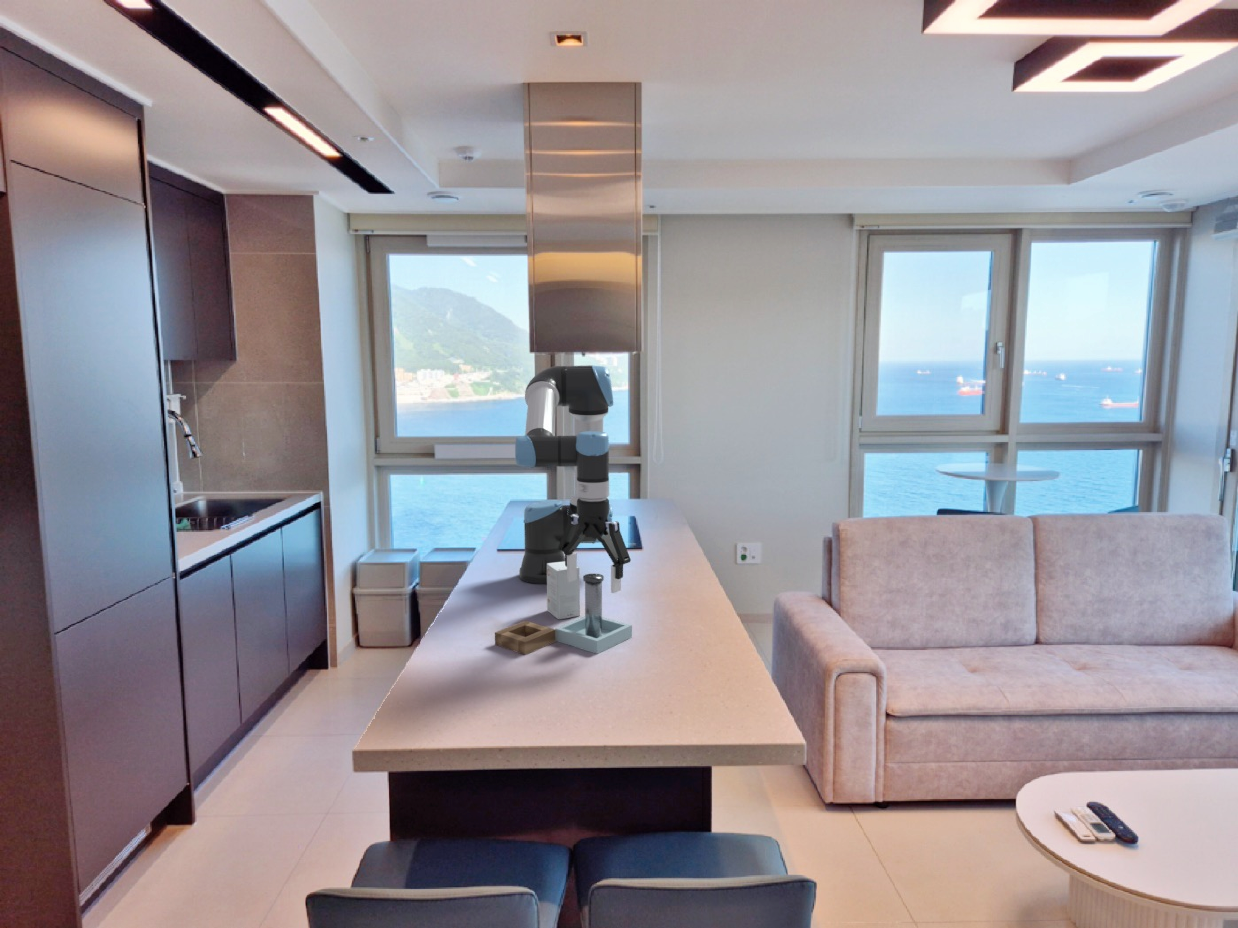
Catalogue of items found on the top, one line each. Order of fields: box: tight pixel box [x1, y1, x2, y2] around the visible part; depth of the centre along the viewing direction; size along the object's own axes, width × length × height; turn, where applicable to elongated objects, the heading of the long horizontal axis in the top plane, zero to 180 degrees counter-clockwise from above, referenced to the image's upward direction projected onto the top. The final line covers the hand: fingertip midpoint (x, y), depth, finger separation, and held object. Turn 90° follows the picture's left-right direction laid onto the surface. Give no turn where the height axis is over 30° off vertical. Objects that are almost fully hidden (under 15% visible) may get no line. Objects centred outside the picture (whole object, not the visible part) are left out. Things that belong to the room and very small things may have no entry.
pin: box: [582, 573, 605, 638], centre depth 179 cm, size 5×5×15 cm
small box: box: [546, 561, 581, 620], centre depth 197 cm, size 8×6×13 cm
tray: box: [554, 616, 633, 655], centre depth 180 cm, size 13×13×3 cm
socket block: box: [494, 620, 556, 656], centre depth 177 cm, size 10×10×3 cm
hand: (593, 585), depth 179 cm, fingers open, 13 cm apart
